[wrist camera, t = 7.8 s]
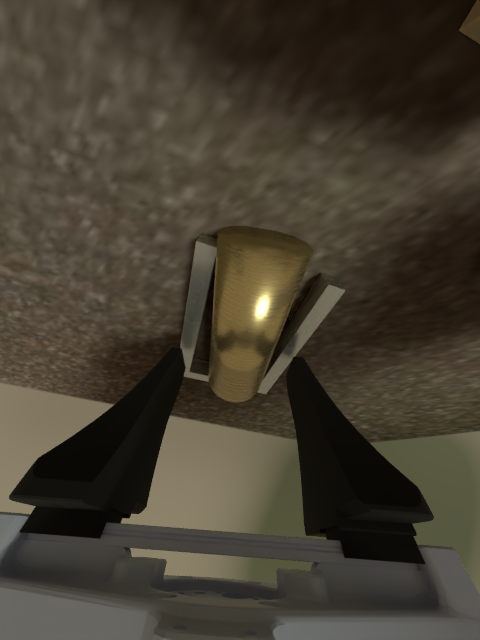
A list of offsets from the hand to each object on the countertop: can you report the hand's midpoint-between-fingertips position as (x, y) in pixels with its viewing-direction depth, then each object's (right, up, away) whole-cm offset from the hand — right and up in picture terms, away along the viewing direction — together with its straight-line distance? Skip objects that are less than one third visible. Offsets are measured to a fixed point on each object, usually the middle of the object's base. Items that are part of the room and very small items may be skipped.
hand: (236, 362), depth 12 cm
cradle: (+1, +3, +1) cm, 3 cm away
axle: (0, +4, 0) cm, 4 cm away
